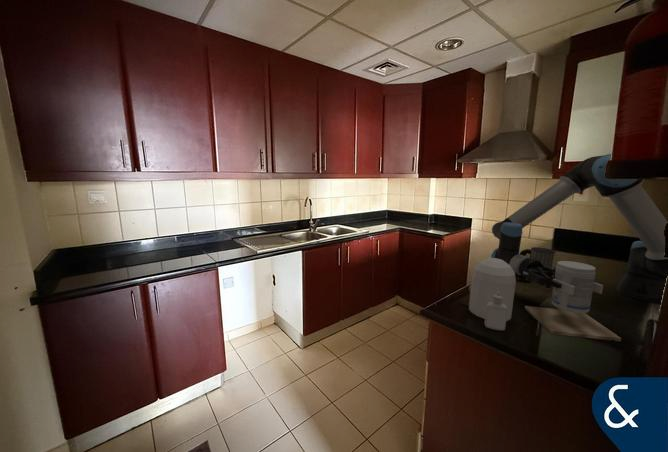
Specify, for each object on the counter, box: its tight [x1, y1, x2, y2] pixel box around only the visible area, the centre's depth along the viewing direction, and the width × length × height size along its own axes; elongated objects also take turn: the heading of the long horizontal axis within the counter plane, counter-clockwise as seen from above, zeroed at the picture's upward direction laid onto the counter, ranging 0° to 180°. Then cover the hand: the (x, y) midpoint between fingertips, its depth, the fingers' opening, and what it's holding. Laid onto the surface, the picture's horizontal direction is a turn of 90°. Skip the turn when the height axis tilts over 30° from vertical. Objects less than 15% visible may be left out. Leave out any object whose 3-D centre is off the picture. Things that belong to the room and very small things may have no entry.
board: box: [524, 305, 622, 342], centre depth 89 cm, size 18×17×1 cm
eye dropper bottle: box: [484, 292, 507, 331], centre depth 85 cm, size 4×6×12 cm
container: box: [468, 257, 517, 322], centre depth 94 cm, size 14×13×20 cm
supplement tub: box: [551, 260, 597, 314], centre depth 87 cm, size 10×10×15 cm
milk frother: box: [515, 246, 556, 283], centre depth 127 cm, size 14×16×15 cm
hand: (587, 290), depth 82 cm, fingers closed on supplement tub, 9 cm apart
